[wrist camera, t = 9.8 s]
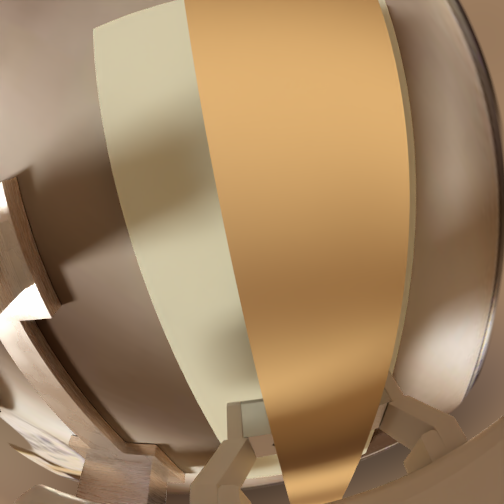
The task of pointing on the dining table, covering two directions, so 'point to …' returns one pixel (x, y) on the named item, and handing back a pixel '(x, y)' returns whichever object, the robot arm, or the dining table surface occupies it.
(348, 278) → the bar
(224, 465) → the robot arm
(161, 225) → the mat
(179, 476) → the rack
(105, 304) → the dining table surface
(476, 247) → the dining table surface
